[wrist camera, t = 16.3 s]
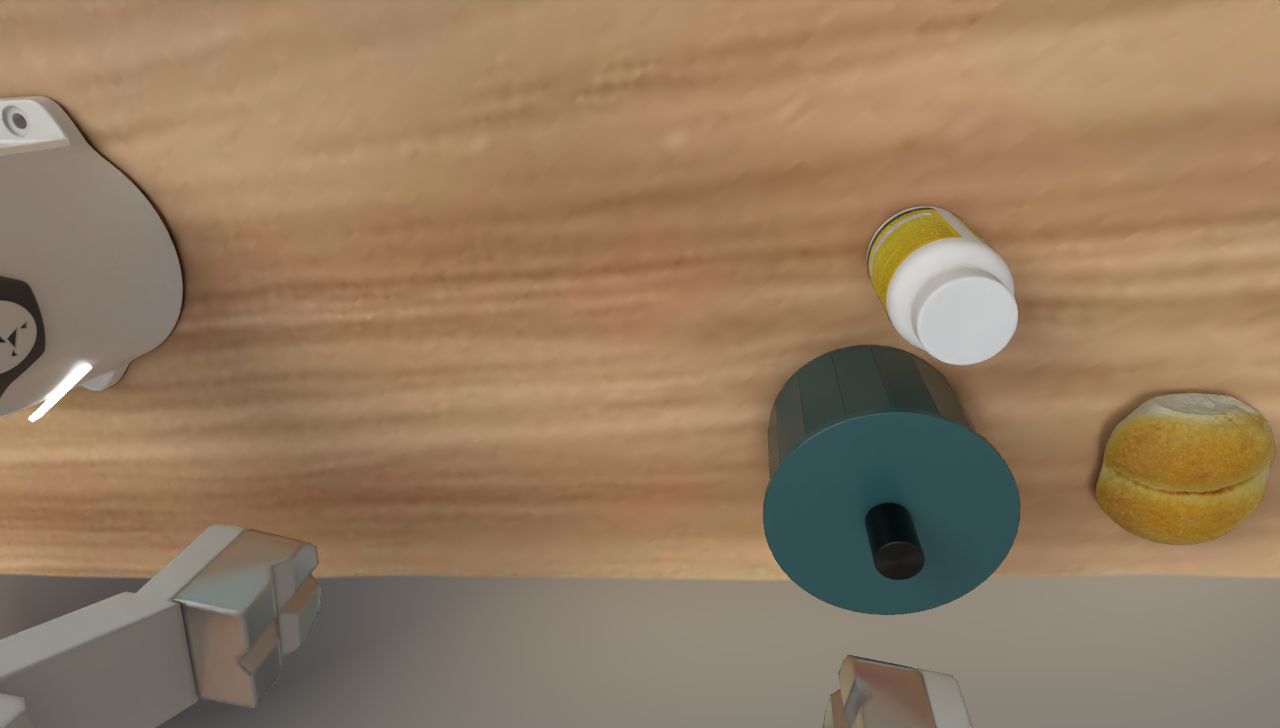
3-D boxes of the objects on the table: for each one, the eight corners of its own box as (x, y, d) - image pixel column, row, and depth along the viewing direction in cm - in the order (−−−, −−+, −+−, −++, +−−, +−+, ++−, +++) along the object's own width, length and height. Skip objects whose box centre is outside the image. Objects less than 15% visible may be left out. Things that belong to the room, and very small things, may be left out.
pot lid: (741, 574, 39) (741, 631, 36) (792, 379, 34) (797, 422, 30) (965, 620, 38) (988, 683, 35) (1052, 427, 33) (1089, 477, 30)
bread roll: (1081, 522, 44) (1110, 566, 40) (1107, 390, 40) (1142, 425, 37) (1233, 524, 43) (1278, 569, 39) (1274, 387, 39) (1327, 424, 35)
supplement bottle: (848, 284, 40) (876, 356, 31) (891, 190, 37) (936, 239, 29) (941, 316, 40) (996, 397, 31) (990, 224, 37) (1065, 282, 29)
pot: (752, 486, 46) (753, 577, 38) (792, 328, 41) (801, 397, 34) (926, 520, 45) (962, 619, 38) (986, 364, 41) (1041, 441, 33)
